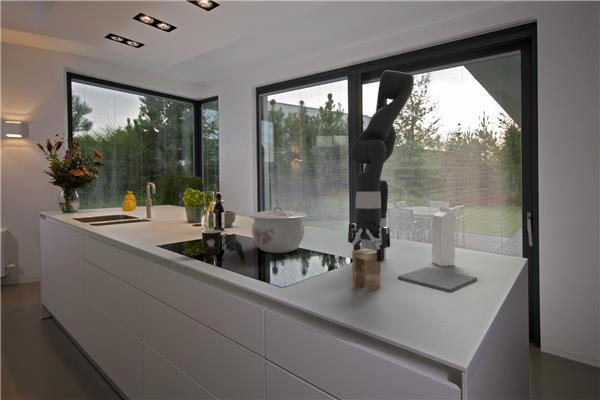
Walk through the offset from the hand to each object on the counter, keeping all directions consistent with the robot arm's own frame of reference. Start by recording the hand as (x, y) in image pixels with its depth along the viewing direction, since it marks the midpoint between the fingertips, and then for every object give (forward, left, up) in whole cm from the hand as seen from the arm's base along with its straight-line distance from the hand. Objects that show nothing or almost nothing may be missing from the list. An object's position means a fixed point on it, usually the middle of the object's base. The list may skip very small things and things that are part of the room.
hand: (368, 259), depth 106 cm
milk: (0, +45, -9) cm, 46 cm away
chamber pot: (-63, +12, -9) cm, 64 cm away
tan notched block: (-1, 0, -9) cm, 9 cm away
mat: (+9, +24, -9) cm, 27 cm away
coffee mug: (-76, -14, -9) cm, 77 cm away
